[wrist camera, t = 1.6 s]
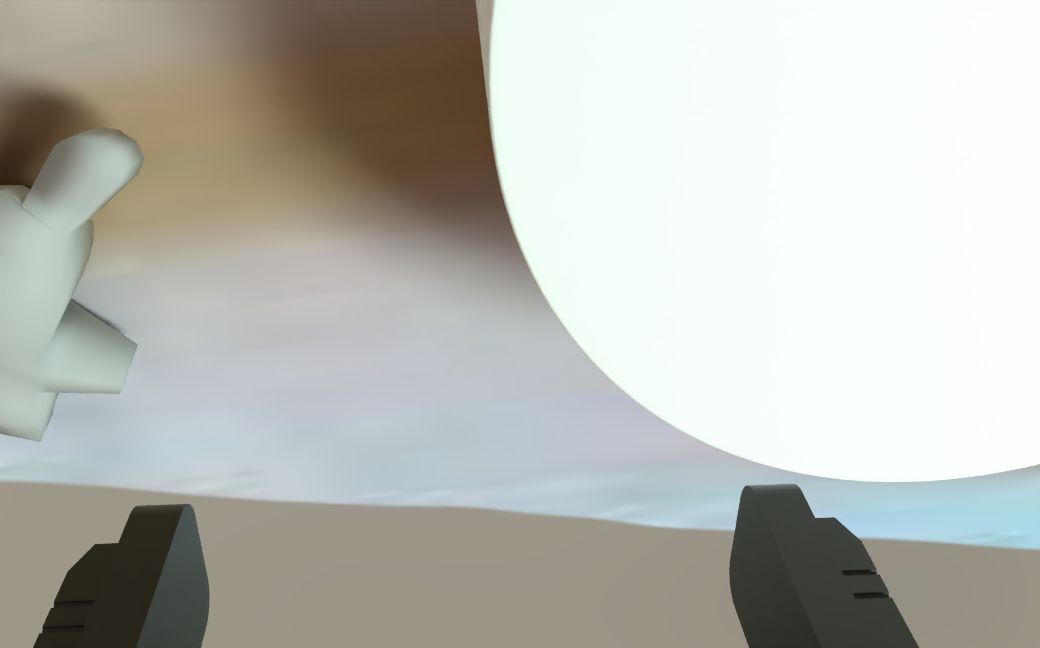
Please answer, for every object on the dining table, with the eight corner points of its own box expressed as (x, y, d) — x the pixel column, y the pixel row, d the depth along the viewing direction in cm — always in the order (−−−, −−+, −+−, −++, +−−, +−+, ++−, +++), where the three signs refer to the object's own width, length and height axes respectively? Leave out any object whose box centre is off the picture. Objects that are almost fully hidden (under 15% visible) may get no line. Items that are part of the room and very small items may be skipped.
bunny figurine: (-162, 435, 37) (-200, 101, 27) (-102, 343, 40) (-117, 21, 31) (100, 487, 39) (147, 196, 30) (134, 395, 43) (184, 112, 34)
